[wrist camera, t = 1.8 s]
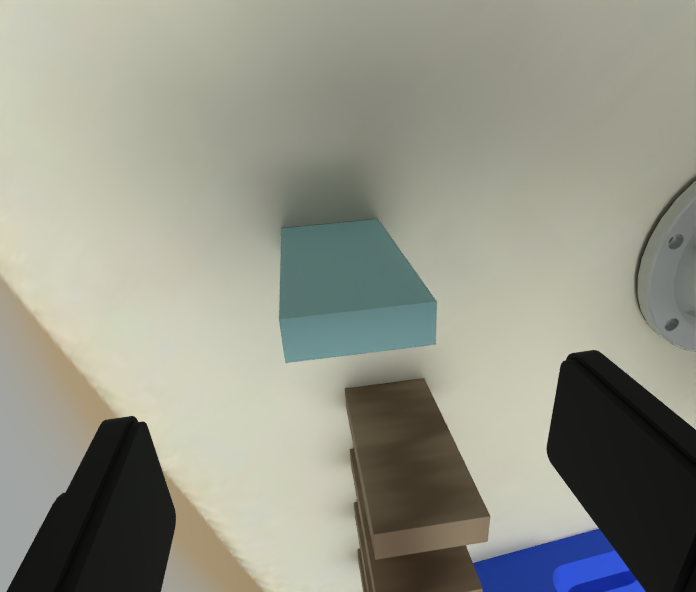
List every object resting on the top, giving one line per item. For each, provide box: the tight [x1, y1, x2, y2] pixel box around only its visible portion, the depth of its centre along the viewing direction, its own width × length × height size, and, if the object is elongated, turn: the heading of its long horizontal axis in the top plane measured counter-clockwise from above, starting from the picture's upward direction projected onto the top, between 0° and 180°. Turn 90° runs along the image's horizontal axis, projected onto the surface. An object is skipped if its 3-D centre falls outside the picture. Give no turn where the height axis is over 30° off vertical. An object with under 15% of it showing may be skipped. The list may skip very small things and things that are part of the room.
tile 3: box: [350, 449, 483, 592], centre depth 26 cm, size 5×2×10 cm, turn 93°
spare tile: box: [279, 219, 437, 363], centre depth 19 cm, size 5×2×10 cm, turn 94°
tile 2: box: [345, 379, 490, 560], centre depth 24 cm, size 5×2×10 cm, turn 93°
